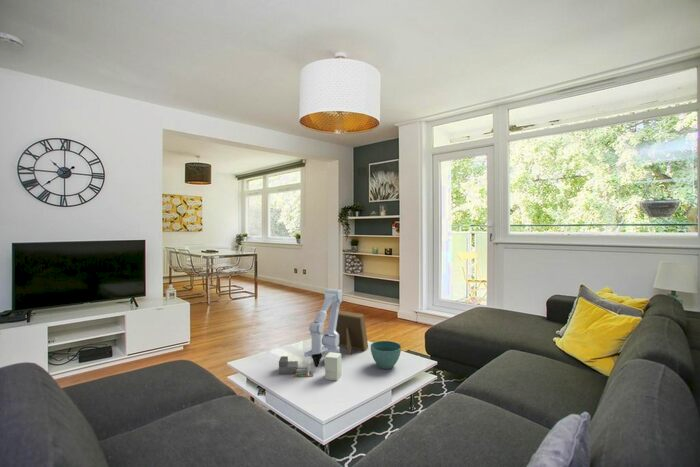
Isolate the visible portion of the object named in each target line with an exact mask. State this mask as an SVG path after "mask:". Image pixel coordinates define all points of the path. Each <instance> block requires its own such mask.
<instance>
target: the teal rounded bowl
mask: <svg viewBox="0 0 700 467" xmlns="http://www.w3.org/2000/svg"><path fill="white" fill-rule="evenodd" d="M370 352H371V355H372V359H373V361H374V362H375V364H376V365H377V366H378V367H379V368H380V369H384V370H389V369H392V368H394V366H395V365H396V363H397V362H398V361H399V359H400V355H401V352H402V346H401V344H400V343H398V342H395V341H389V340H379V341H375V342H374V341H373V342H372V343H370Z"/></svg>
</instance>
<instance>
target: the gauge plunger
mask: <svg viewBox="0 0 700 467" xmlns="http://www.w3.org/2000/svg"><path fill="white" fill-rule="evenodd" d="M301 369H302V370H307V372H306V374H308V376H309V373H311V370H312V361H310V360H309V361H308V362H307V365H306V366H298V367H297V370H301Z"/></svg>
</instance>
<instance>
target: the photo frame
mask: <svg viewBox="0 0 700 467" xmlns="http://www.w3.org/2000/svg"><path fill="white" fill-rule="evenodd" d="M365 318H366V317H365V314H363V313H357V312H351V311H345V310H340V309H339V312H338V319H337V326H336V332H337V333H338V334H339V345H338V346H342V347H345V348H346V350H347V351H346V352H347V354H349V355H352V349H353V350H359V351H363V352H366V351H367V350H368V349H369V344H368V335H367V328H366V319H365Z"/></svg>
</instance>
